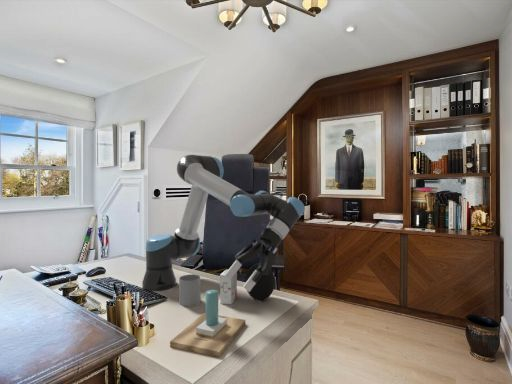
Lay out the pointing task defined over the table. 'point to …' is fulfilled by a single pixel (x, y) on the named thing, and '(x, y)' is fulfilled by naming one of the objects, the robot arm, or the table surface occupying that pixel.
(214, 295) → the teal cylinder on base
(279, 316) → the table surface
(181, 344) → the board
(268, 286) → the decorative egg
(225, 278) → the ink cartridge box
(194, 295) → the cup
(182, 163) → the robot arm
